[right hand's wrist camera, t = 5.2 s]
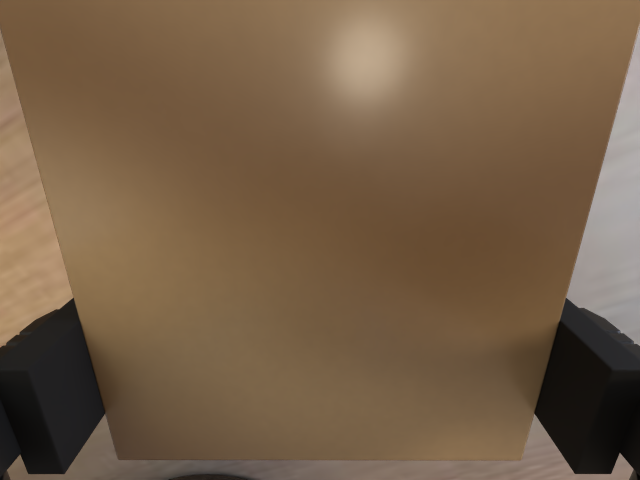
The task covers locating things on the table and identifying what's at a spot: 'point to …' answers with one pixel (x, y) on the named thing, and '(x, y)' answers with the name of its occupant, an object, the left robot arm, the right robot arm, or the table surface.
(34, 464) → the right robot arm
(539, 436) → the table surface
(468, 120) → the cabinet
